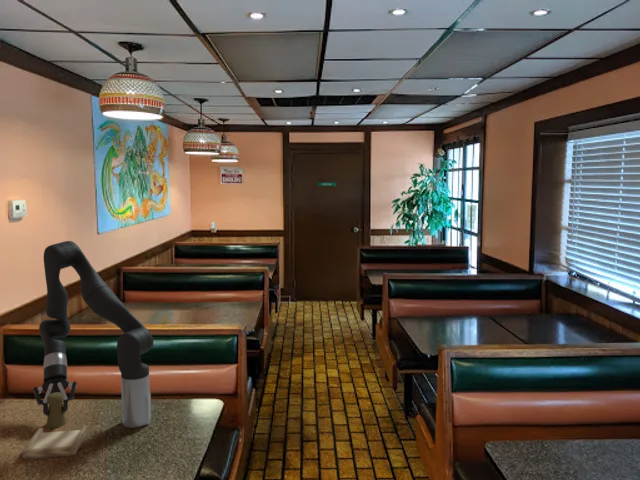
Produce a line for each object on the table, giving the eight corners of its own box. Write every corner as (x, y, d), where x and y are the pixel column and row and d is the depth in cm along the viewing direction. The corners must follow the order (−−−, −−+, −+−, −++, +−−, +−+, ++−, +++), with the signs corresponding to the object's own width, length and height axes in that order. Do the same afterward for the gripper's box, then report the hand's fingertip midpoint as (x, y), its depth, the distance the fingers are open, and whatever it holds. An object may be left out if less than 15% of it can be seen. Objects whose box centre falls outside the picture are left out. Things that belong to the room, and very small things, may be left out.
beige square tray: (87, 431, 168) (87, 424, 167) (75, 455, 153) (74, 447, 153) (39, 435, 165) (39, 428, 164) (21, 459, 150) (21, 451, 150)
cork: (69, 420, 175) (68, 390, 174) (59, 428, 169) (57, 398, 168) (53, 419, 176) (52, 389, 175) (42, 427, 170) (41, 397, 169)
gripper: (31, 366, 174) (30, 413, 164) (77, 360, 180) (78, 405, 171) (33, 375, 179) (32, 421, 170) (77, 369, 186) (79, 413, 176)
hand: (55, 413), depth 170 cm, fingers closed on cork, 4 cm apart
